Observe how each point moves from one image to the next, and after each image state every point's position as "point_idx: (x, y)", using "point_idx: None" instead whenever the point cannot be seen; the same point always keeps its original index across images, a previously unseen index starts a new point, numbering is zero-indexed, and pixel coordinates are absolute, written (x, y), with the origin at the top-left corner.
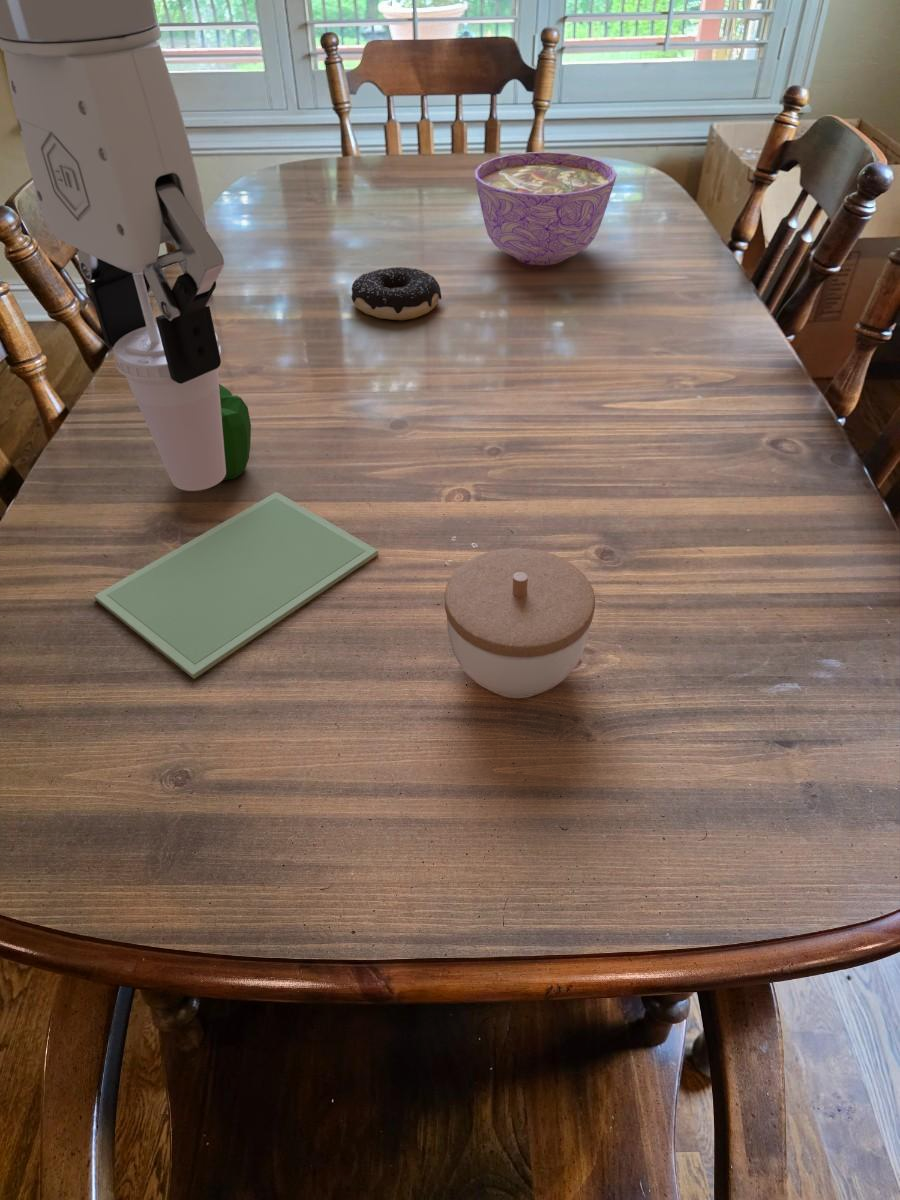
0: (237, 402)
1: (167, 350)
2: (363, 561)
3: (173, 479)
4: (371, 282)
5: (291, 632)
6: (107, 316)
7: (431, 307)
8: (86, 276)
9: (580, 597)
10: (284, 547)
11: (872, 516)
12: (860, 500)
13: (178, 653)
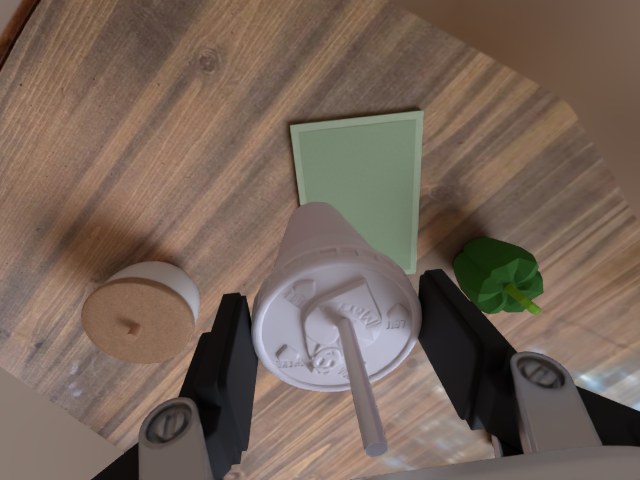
0: (486, 309)
1: (213, 332)
2: None
3: (312, 204)
4: None
5: (285, 203)
6: (443, 309)
7: (492, 442)
8: (535, 358)
9: (111, 349)
10: None
11: None
12: None
13: (317, 129)
